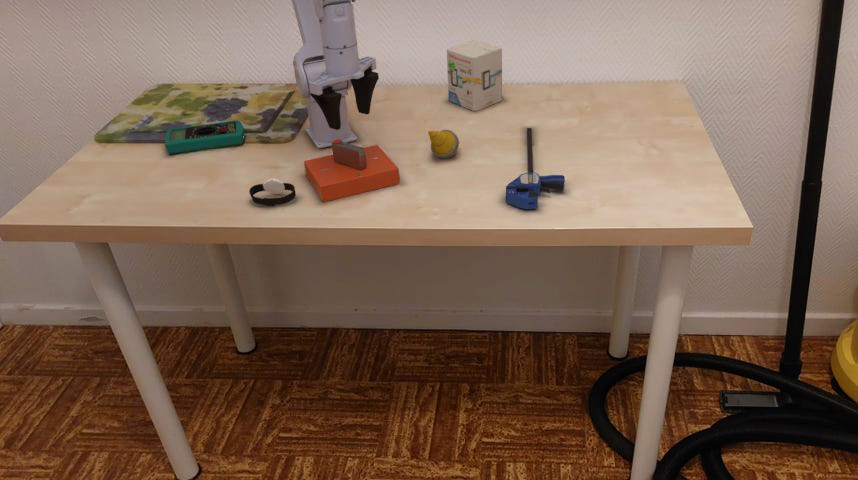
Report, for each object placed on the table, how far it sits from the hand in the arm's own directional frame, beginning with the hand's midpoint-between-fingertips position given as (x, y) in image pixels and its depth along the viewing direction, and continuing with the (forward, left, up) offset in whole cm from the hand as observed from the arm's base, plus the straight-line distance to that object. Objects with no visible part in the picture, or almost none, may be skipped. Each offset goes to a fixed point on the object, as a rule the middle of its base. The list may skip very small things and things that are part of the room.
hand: (349, 120), depth 131 cm
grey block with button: (+4, -2, -6) cm, 8 cm away
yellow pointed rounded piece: (+4, +16, -10) cm, 19 cm away
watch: (+5, -16, -10) cm, 20 cm away
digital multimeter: (-25, -23, -10) cm, 35 cm away
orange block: (+4, -2, -9) cm, 10 cm away
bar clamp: (+15, +29, -10) cm, 34 cm away
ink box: (-18, +33, -10) cm, 39 cm away
